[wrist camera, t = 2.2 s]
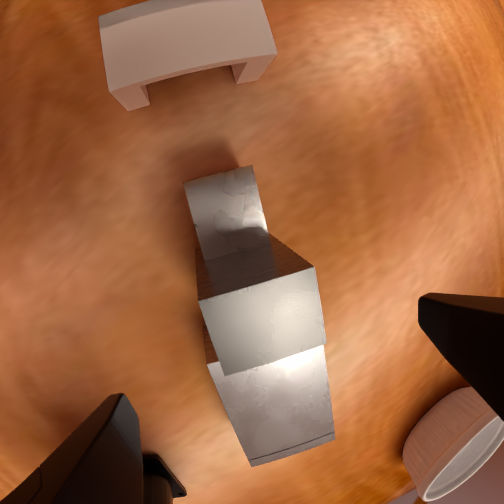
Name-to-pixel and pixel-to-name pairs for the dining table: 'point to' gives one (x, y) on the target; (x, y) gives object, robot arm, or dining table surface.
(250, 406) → the sleeve
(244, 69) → the grey rectangular block
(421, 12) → the dining table surface
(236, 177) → the grey l-shaped block
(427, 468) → the ramekin
